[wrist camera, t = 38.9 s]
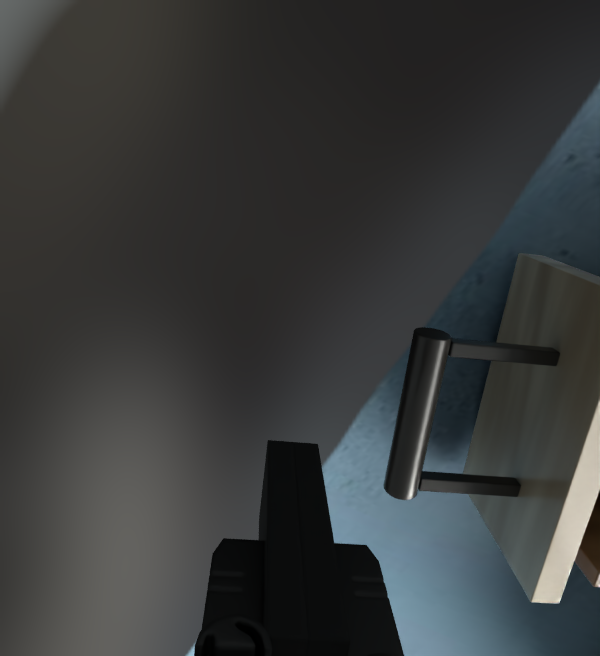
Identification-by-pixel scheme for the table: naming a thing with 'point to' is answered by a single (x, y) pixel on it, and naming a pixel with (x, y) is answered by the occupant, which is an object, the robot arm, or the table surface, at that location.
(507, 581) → the table surface
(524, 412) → the drawer
